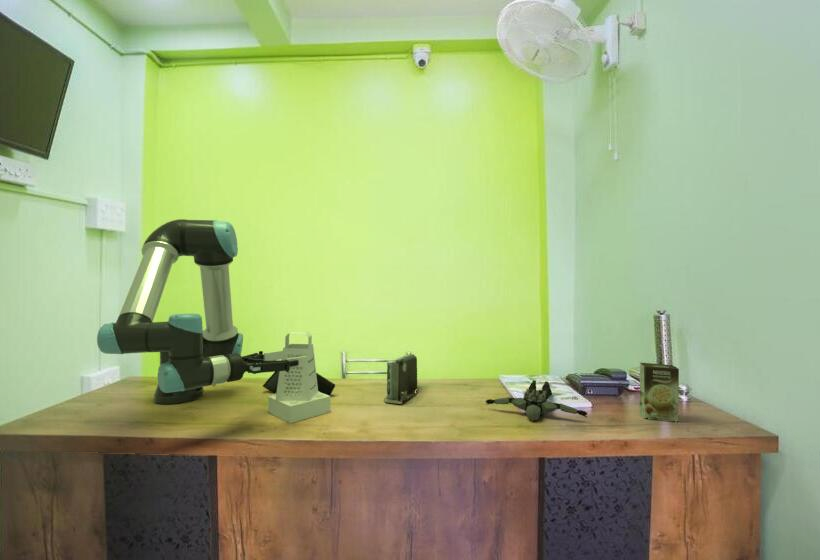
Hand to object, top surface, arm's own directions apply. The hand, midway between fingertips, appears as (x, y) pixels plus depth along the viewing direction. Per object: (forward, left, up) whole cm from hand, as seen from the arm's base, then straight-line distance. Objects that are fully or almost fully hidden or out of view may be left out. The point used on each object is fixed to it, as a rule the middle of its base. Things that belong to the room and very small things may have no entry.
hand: (294, 357), depth 122 cm
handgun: (-18, +12, -18) cm, 28 cm away
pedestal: (0, +2, -18) cm, 18 cm away
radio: (+11, +37, -18) cm, 43 cm away
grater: (-1, +2, -13) cm, 13 cm away
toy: (+53, +59, -18) cm, 81 cm away
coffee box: (+84, +76, -18) cm, 115 cm away
